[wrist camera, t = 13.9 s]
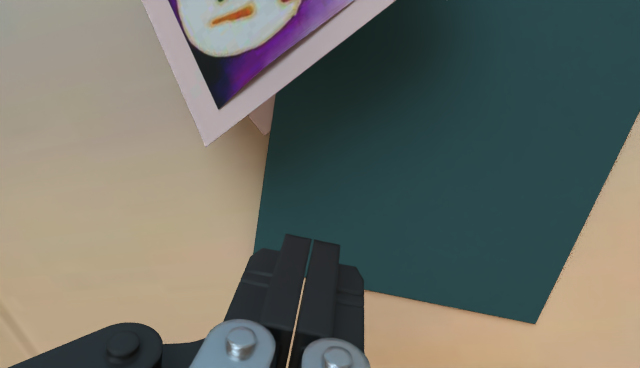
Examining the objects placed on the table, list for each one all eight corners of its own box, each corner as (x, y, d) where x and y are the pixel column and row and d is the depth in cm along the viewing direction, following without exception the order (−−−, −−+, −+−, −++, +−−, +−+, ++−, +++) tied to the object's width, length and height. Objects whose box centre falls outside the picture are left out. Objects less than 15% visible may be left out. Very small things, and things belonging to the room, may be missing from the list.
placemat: (252, 263, 32) (251, 267, 31) (310, -146, 22) (309, -149, 21) (533, 320, 32) (535, 324, 31) (720, -65, 22) (726, -66, 21)
